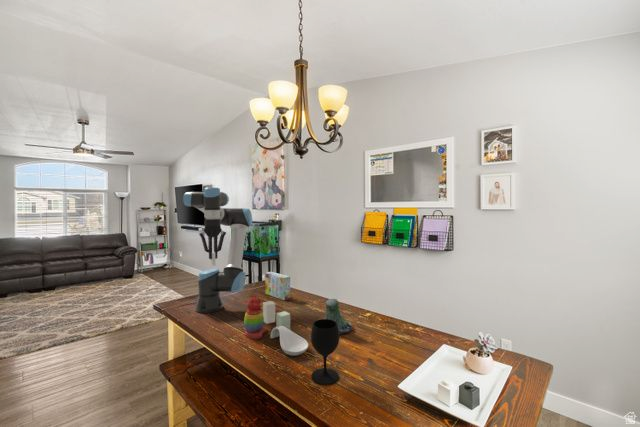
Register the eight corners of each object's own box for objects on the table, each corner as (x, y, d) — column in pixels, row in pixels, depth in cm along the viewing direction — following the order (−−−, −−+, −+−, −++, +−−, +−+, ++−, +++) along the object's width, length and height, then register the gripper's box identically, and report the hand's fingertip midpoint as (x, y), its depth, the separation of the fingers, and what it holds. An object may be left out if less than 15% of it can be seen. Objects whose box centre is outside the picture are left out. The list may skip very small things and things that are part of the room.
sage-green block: (276, 333, 145) (276, 313, 144) (285, 330, 148) (285, 310, 148) (281, 337, 141) (281, 316, 141) (290, 334, 144) (290, 314, 144)
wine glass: (310, 369, 114) (310, 318, 113) (336, 368, 115) (337, 317, 114) (311, 386, 104) (311, 330, 103) (341, 384, 105) (341, 329, 104)
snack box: (290, 298, 196) (290, 276, 195) (284, 301, 192) (284, 278, 191) (271, 292, 210) (271, 271, 209) (264, 293, 206) (264, 272, 205)
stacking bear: (260, 339, 138) (259, 302, 138) (240, 337, 140) (239, 300, 140) (268, 329, 149) (268, 294, 148) (249, 328, 151) (249, 293, 150)
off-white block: (262, 320, 160) (262, 302, 160) (271, 318, 163) (271, 300, 163) (266, 323, 156) (266, 305, 156) (275, 321, 159) (275, 303, 158)
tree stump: (360, 325, 156) (358, 295, 151) (343, 350, 139) (340, 317, 134) (329, 316, 165) (327, 287, 160) (310, 338, 149) (307, 307, 144)
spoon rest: (313, 353, 126) (313, 337, 126) (290, 363, 119) (290, 345, 119) (284, 334, 145) (284, 319, 144) (262, 341, 137) (262, 326, 137)
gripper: (200, 219, 141) (201, 268, 142) (227, 218, 148) (228, 265, 149) (197, 218, 147) (197, 265, 148) (223, 217, 154) (224, 262, 155)
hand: (213, 265), depth 149 cm, fingers closed
